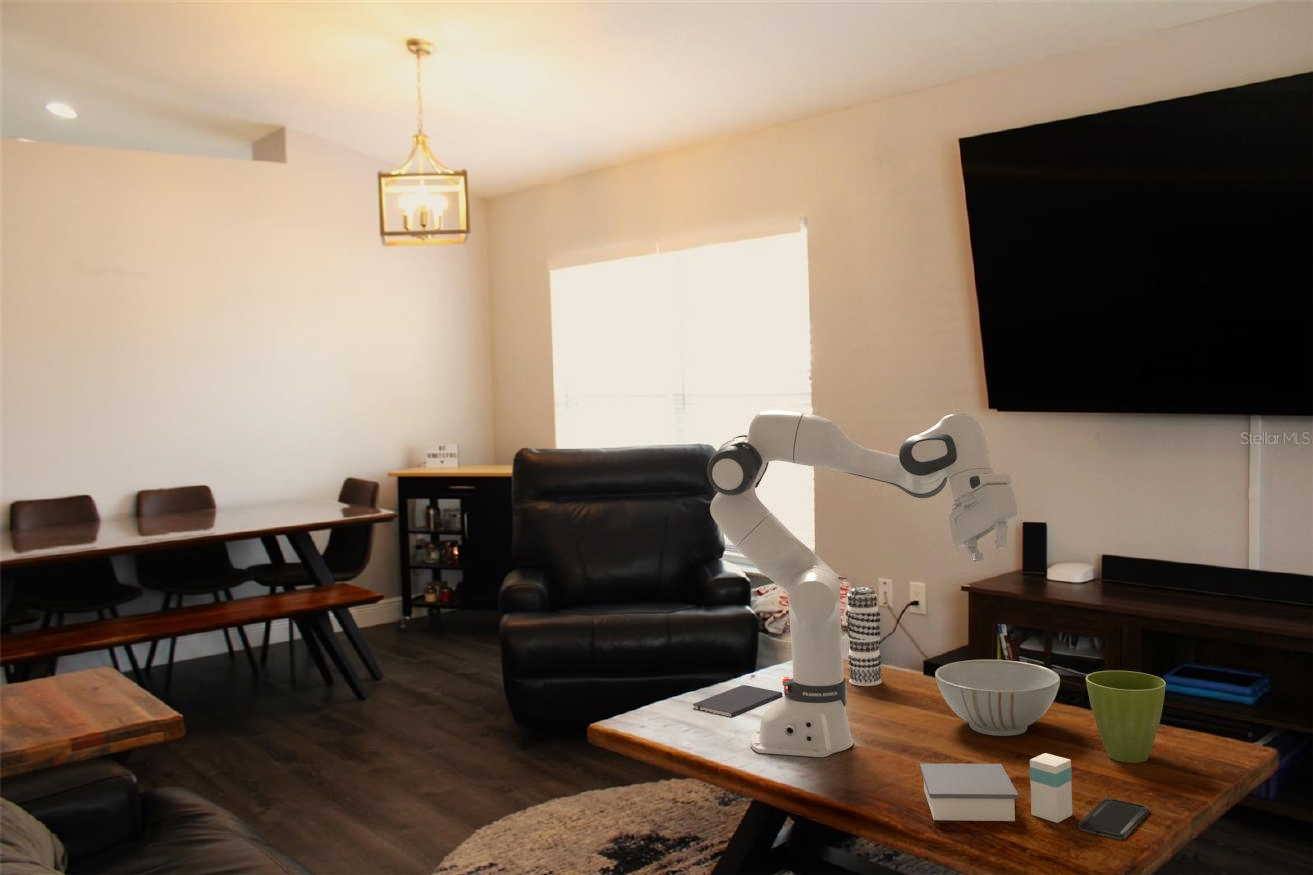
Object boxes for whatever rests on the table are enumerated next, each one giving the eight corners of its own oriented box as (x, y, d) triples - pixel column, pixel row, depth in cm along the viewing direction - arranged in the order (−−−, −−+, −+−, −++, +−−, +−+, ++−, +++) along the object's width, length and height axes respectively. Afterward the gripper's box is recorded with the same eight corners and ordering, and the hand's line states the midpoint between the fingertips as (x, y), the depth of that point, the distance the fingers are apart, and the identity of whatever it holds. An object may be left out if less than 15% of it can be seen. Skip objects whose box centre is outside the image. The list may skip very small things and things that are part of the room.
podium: (930, 821, 184) (929, 793, 183) (920, 789, 199) (919, 763, 198) (1019, 822, 182) (1018, 794, 181) (1001, 789, 197) (1001, 764, 196)
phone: (1150, 807, 184) (1123, 835, 173) (1151, 813, 184) (1123, 842, 173) (1105, 797, 189) (1075, 824, 178) (1105, 803, 189) (1075, 830, 178)
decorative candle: (848, 686, 270) (844, 592, 269) (847, 676, 279) (844, 585, 278) (883, 686, 269) (880, 591, 268) (881, 677, 278) (878, 585, 277)
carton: (1031, 814, 185) (1029, 759, 184) (1046, 806, 188) (1044, 752, 187) (1057, 823, 181) (1055, 767, 180) (1072, 814, 184) (1071, 759, 183)
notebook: (731, 719, 248) (782, 698, 264) (731, 713, 248) (782, 692, 264) (691, 710, 257) (743, 690, 273) (691, 704, 257) (743, 684, 273)
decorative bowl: (984, 754, 216) (982, 697, 215) (914, 718, 241) (912, 667, 241) (1088, 736, 224) (1087, 681, 224) (1010, 703, 250) (1008, 654, 249)
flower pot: (1076, 745, 219) (1074, 671, 218) (1147, 743, 218) (1145, 668, 218) (1105, 771, 204) (1102, 691, 203) (1181, 768, 203) (1179, 688, 203)
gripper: (937, 507, 217) (951, 570, 212) (985, 471, 199) (1001, 540, 194) (964, 506, 219) (978, 569, 214) (1014, 471, 201) (1031, 539, 195)
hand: (990, 555), depth 204 cm, fingers open, 8 cm apart
